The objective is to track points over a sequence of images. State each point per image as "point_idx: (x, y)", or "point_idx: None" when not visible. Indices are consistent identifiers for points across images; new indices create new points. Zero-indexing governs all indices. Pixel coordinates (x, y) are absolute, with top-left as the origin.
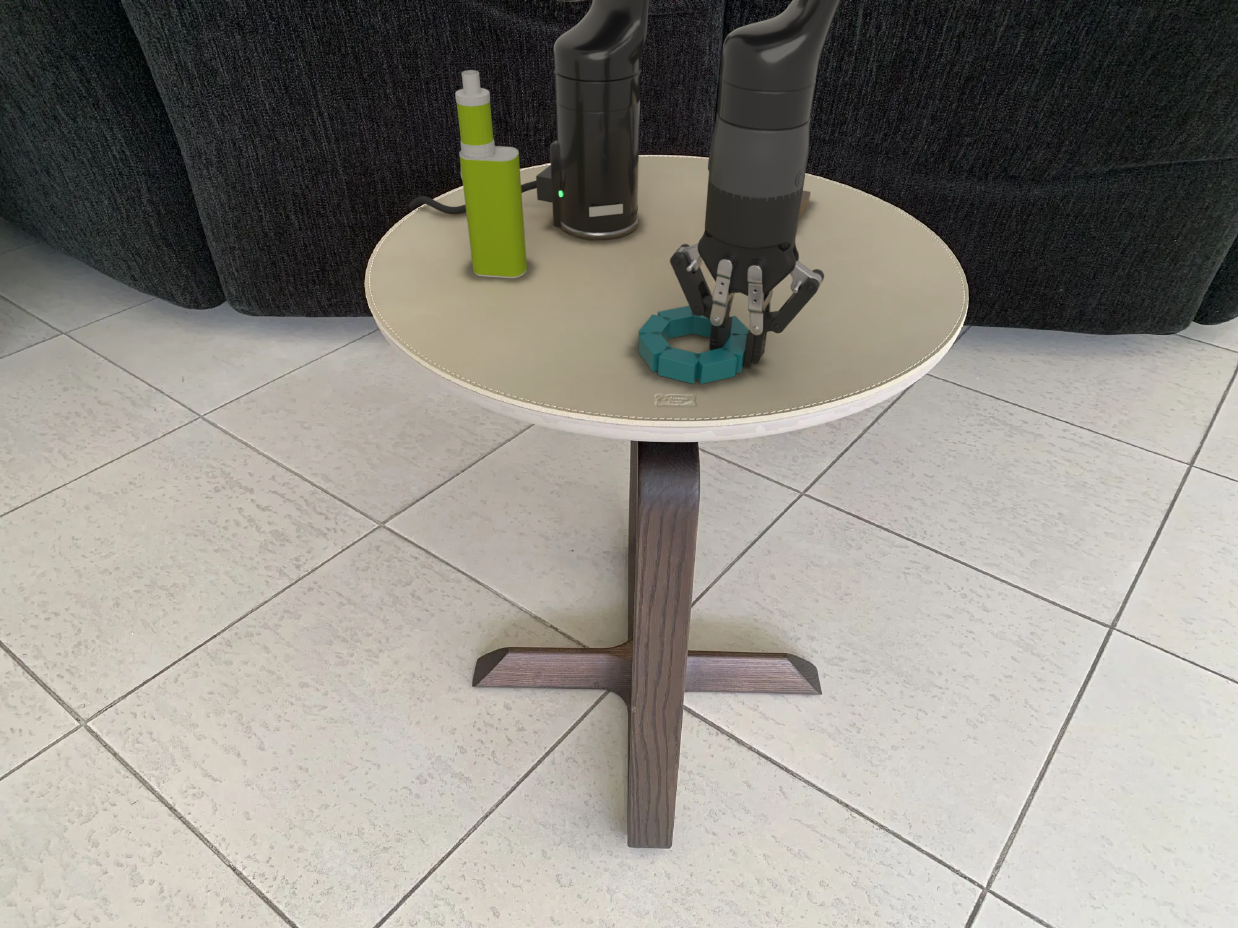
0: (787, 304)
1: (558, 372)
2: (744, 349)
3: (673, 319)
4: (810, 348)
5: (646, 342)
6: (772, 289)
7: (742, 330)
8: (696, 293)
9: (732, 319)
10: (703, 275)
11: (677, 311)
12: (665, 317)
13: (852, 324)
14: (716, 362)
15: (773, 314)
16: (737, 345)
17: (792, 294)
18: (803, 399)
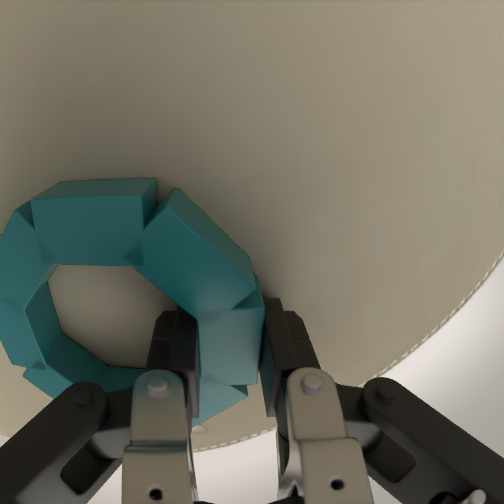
0: (399, 499)
1: (5, 403)
2: (256, 366)
3: (26, 303)
4: (400, 184)
5: (50, 395)
6: (362, 458)
7: (223, 289)
8: (92, 493)
9: (167, 237)
10: (42, 470)
11: (9, 259)
12: (8, 300)
13: (469, 46)
14: (210, 417)
15: (351, 436)
16: (233, 359)
17: (430, 465)
18: (378, 361)
